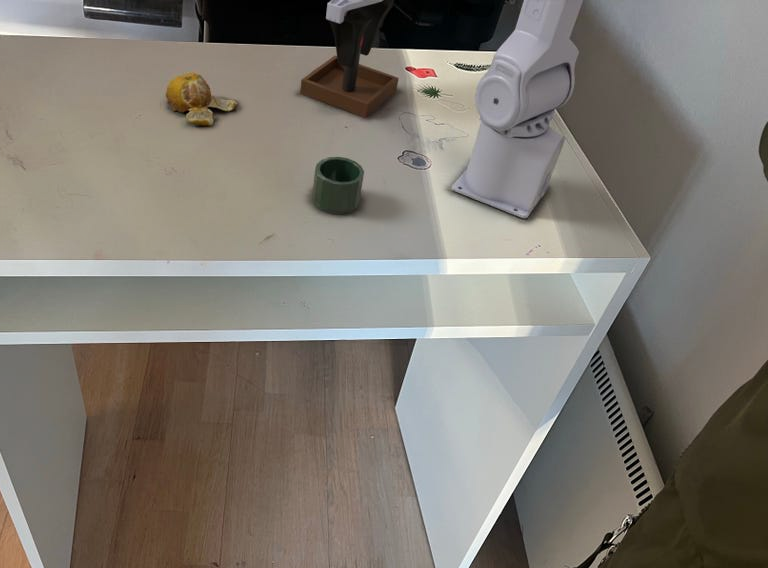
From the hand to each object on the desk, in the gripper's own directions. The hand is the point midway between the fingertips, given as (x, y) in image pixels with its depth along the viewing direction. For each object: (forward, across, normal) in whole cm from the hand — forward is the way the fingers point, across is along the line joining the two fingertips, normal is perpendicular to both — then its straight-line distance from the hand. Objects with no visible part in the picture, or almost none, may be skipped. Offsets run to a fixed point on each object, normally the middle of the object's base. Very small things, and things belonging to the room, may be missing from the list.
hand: (353, 58), depth 100 cm
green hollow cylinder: (+5, +23, +11) cm, 26 cm away
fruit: (+5, +17, -13) cm, 22 cm away
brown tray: (+5, 0, 0) cm, 5 cm away
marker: (+4, 0, 0) cm, 4 cm away
